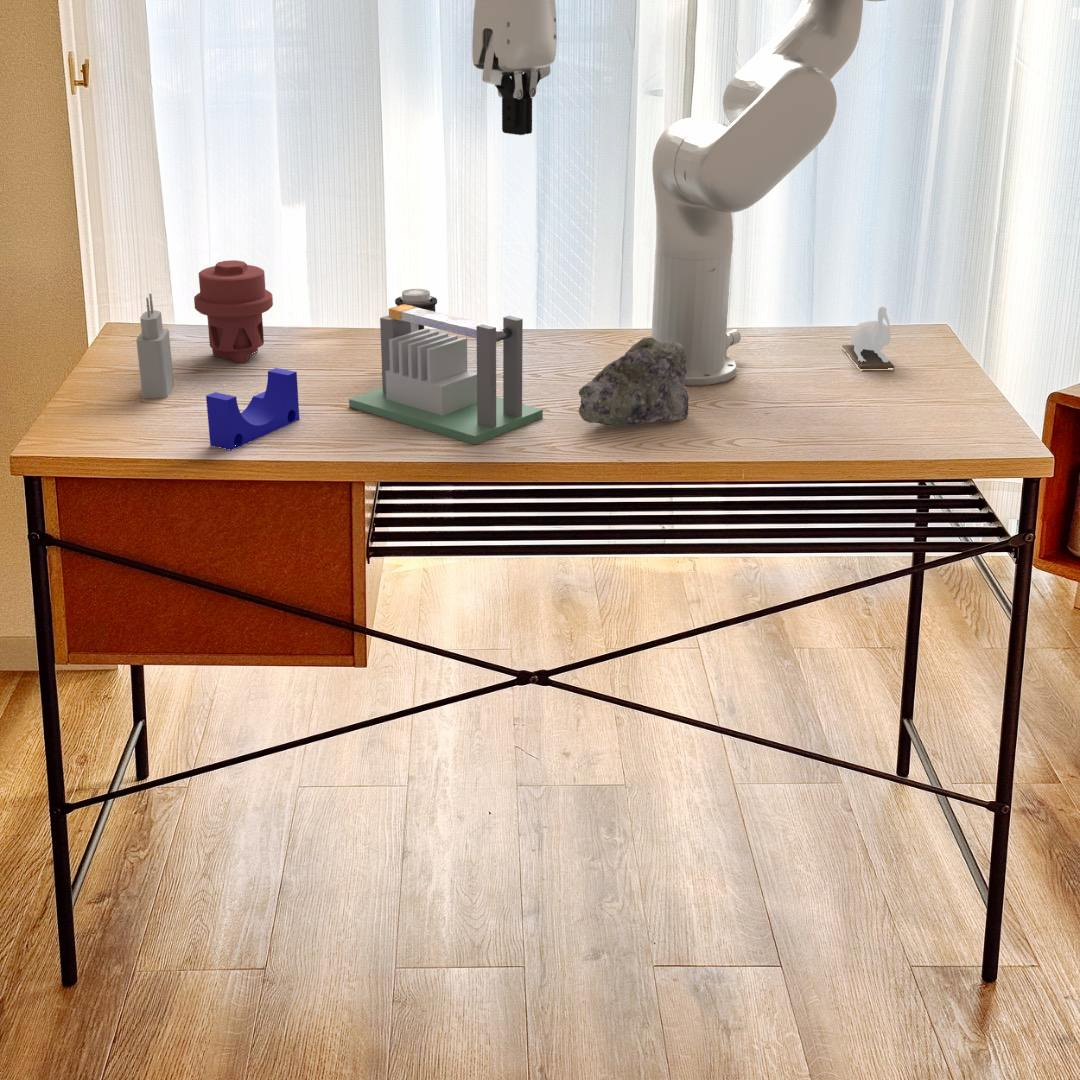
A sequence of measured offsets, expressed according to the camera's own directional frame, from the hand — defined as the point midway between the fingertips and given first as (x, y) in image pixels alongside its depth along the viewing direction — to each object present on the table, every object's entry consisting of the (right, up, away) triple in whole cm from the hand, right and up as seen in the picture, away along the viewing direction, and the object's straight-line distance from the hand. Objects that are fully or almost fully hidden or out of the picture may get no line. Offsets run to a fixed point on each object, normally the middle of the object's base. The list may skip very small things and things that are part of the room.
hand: (517, 132), depth 169 cm
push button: (-13, -25, +20) cm, 35 cm away
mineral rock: (+14, -33, +3) cm, 36 cm away
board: (-9, -32, +5) cm, 33 cm away
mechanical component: (-37, -23, +25) cm, 50 cm away
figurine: (+46, -24, +24) cm, 58 cm away
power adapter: (-44, -29, +11) cm, 54 cm away
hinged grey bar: (-8, -22, 0) cm, 24 cm away
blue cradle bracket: (-30, -35, -2) cm, 46 cm away
